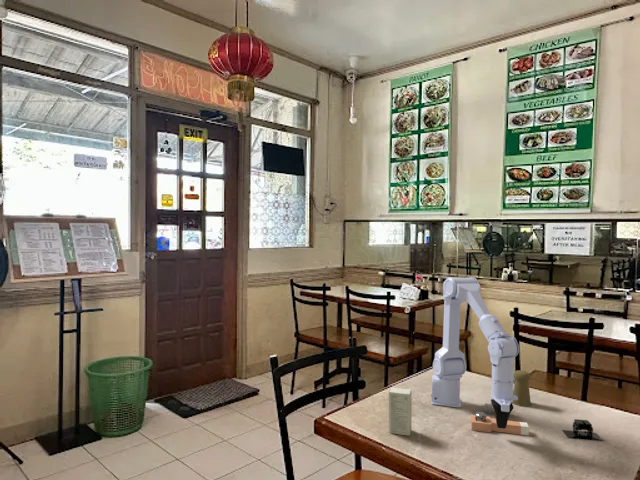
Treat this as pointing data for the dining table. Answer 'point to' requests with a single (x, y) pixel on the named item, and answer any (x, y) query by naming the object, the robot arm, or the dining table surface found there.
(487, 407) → the stand
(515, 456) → the dining table surface
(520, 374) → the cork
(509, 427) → the link
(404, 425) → the skincare box
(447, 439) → the dining table surface
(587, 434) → the black piece
